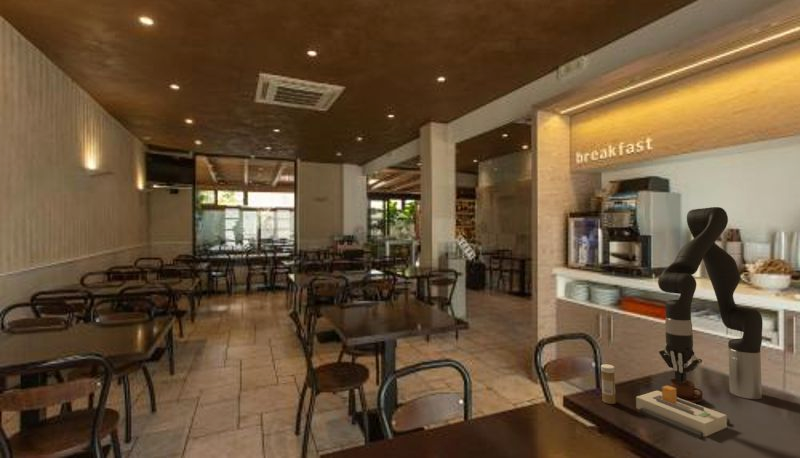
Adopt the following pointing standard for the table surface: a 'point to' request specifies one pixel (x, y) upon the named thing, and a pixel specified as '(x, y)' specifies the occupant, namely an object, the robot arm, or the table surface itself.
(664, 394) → the breaker toggle
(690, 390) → the cup and saucer
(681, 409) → the slider base
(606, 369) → the sprinkles bottle
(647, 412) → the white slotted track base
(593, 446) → the table surface
